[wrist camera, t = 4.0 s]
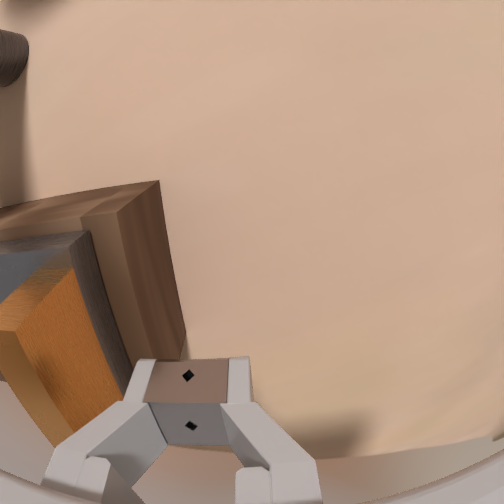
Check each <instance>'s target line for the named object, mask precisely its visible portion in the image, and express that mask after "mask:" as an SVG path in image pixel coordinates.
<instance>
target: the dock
mask: <svg viewBox="0 0 504 504" xmlns="http://www.w3.org/2000/svg"><path fill="white" fill-rule="evenodd" d="M82 230H89V231H90V236H91V240H92V244H93V248H94V252H95V256H96V260H97V264H98V268H99V271H100V275H101V279H102V282H103V286H104V289H105V292H106V296H107V299H108V302H109V305H110V309H111V312H112V315H113V318H114V321H115V324H116V327H117V330H118V333H119V335H120V338H121V341H122V344H123V347H124V349H125V352H126V355H127V357H128V360H129V363H130V365H131V368H132V370H133V371H134V368H135V366H136V363H137V361H138V360H140V359H180V355H181V351H182V347H183V342H184V338H185V334H186V330H185V325H184V321H183V316H182V311H181V307H180V302H179V297H178V292H177V287H176V282H175V277H174V271H173V266H172V260H171V255H170V249H169V243H168V237H167V231H166V225H165V219H164V212H163V206H162V199H161V192H160V184H159V180H157V181H149V182H141V183H134V184H127V185H120V186H113V187H107V188H101V189H95V190H89V191H83V192H77V193H71V194H66V195H61V196H55V197H50V198H45V199H40V200H35V201H31V202H26V203H21V204H17V205H12V206H8V207H4V208H0V241H6V240H13V239H20V238H27V237H34V236H42V235H49V234H57V233H65V232H73V231H82ZM0 380H1V381H5V382H7V381H6V379H5V378H4V376H3V374H2V373H1V371H0Z"/></svg>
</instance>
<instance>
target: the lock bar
mask: <svg viewBox="0 0 504 504" xmlns="http://www.w3.org/2000/svg"><path fill="white" fill-rule="evenodd" d="M0 371H1V373H2V374H3V376H4V378H5V379H6V381H7V383H8V384H9V386H10V387H11V389H12V390H13V392H14V393H15V395H16V397H17V398H18V399H19V401H20V402H21V404H22V405H23V407H24V408H25V410H26V411H27V412H28V414H29V415H30V417H31V418H32V419H33V421H34V422H35V423H36V425H37V426H38V427H39V428H40V430H41V431H42V433H43V434H44V435H45V436H46V438H47V439H48V440H49V441H50V443H51V444H52V445H53V446H54V447H55V448H56V446H58V445H59V444H60V443H62V442H63V441H64V440H66V439H67V438H69V437H70V436H71V435H73V434H74V433H75V432H77V431H78V430H79V429H81V428H82V427H83V426H85V425H86V424H87V423H89V422H90V421H91V420H93V419H94V418H95V417H97V416H98V415H99V414H101V413H102V412H103V411H105V410H106V409H107V408H109V407H110V406H111V405H113V404H114V403H115V402H117V401H123V398H124V395H125V393H126V390H127V387H128V384H129V382H130V379H131V376H132V374H133V370H132V368H131V365H130V363H129V360H128V357H127V355H126V352H125V349H124V347H123V344H122V341H121V338H120V335H119V333H118V330H117V327H116V324H115V321H114V318H113V315H112V312H111V309H110V305H109V302H108V299H107V296H106V292H105V289H104V286H103V282H102V279H101V275H100V271H99V268H98V264H97V260H96V256H95V252H94V248H93V244H92V240H91V236H90V231H89V230H82V231H73V232H65V233H57V234H49V235H42V236H34V237H27V238H20V239H13V240H6V241H0Z"/></svg>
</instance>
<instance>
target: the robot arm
mask: <svg viewBox="0 0 504 504" xmlns="http://www.w3.org/2000/svg"><path fill="white" fill-rule="evenodd" d="M167 444H173V445H230V447H231V449H232V450H233V452H234V453H235V454H236V456H237V457H238V459H239V460H240V461H241V463H242V464H243V465H244V467H245V468H241V469H240V470H239V471H237V472H236V477H235V479H236V480H235V504H323V501H322V495H321V490H320V484H319V478H318V473H317V467H316V462H315V460H314V459H313V458H312V457H311V456H310V455H309V454H308V453H307V452H306V451H305V450H304V449H303V448H302V447H301V446H300V445H299V444H298V443H297V442H295V441H294V440H293V439H292V438H291V437H290V436H289V435H288V434H287V433H286V432H285V431H284V430H283V429H282V428H281V427H280V426H279V425H278V424H277V423H276V422H275V421H274V420H273V419H272V418H271V417H270V416H269V415H268V413H267V412H266V411H265V410H264V409H263V408H262V407H261V406H260V405H259V404H258V403H257V402H254V397H253V386H252V376H251V366H250V358H249V356H243V357H230V358H216V359H140V360H138V361H137V363H136V366H135V368H134V371H133V374H132V376H131V379H130V382H129V384H128V387H127V390H126V393H125V395H124V398H123V401H117V402H115V403H114V404H113V405H111V406H110V407H109V408H107V409H106V410H105V411H103V412H102V413H101V414H99V415H98V416H97V417H95V418H94V419H93V420H91V421H90V422H89V423H87V424H86V425H85V426H83V427H82V428H81V429H79V430H78V431H77V432H75V433H74V434H73V435H71V436H70V437H69V438H67V439H66V440H64V441H63V442H62V443H60V444H59V445H58V446H56V448H55V450H54V453H53V455H52V458H51V460H50V463H49V465H48V467H47V470H46V472H45V475H44V477H43V480H42V483H41V485H37V484H35V483H33V482H30V481H27V480H25V479H22V478H20V477H17V476H15V475H13V474H10V473H8V472H6V471H3V470H1V469H0V504H145V503H144V502H143V501H142V499H140V497H139V496H138V495H137V494H136V493H135V492H134V491H133V490H132V489H131V487H132V486H133V485H134V484H135V483H136V482H137V480H138V479H139V478H140V477H141V476H142V475H143V474H144V473H145V472H146V470H147V469H148V468H149V467H150V466H151V465H152V464H153V463H154V461H155V460H156V459H157V458H158V457H159V456H160V454H161V453H162V452H163V451H164V450H165V449H166V448H167V446H168V445H167ZM359 504H504V449H503V450H501V451H500V452H498V453H496V454H494V455H492V456H490V457H488V458H486V459H484V460H482V461H480V462H478V463H476V464H474V465H472V466H469V467H467V468H465V469H463V470H461V471H458V472H456V473H454V474H451V475H449V476H446V477H444V478H441V479H439V480H436V481H433V482H431V483H428V484H425V485H422V486H419V487H416V488H413V489H410V490H408V491H404V492H401V493H397V494H394V495H391V496H387V497H384V498H380V499H376V500H372V501H368V502H363V503H359Z"/></svg>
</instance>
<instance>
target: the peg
mask: <svg viewBox="0 0 504 504" xmlns="http://www.w3.org/2000/svg"><path fill="white" fill-rule="evenodd" d="M28 54H29V45H28V41H27V39H26V38H25V37H24V36H23V35H21V34H18V33H14V32H10V31H5V30H1V29H0V87H5V86H8V85H10V84H12V83H13V82H14V81H15V80H16V79H17V78H18V77H19V76H20V74H21V73H22V71H23V69H24V67H25V65H26V62H27V59H28Z"/></svg>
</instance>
